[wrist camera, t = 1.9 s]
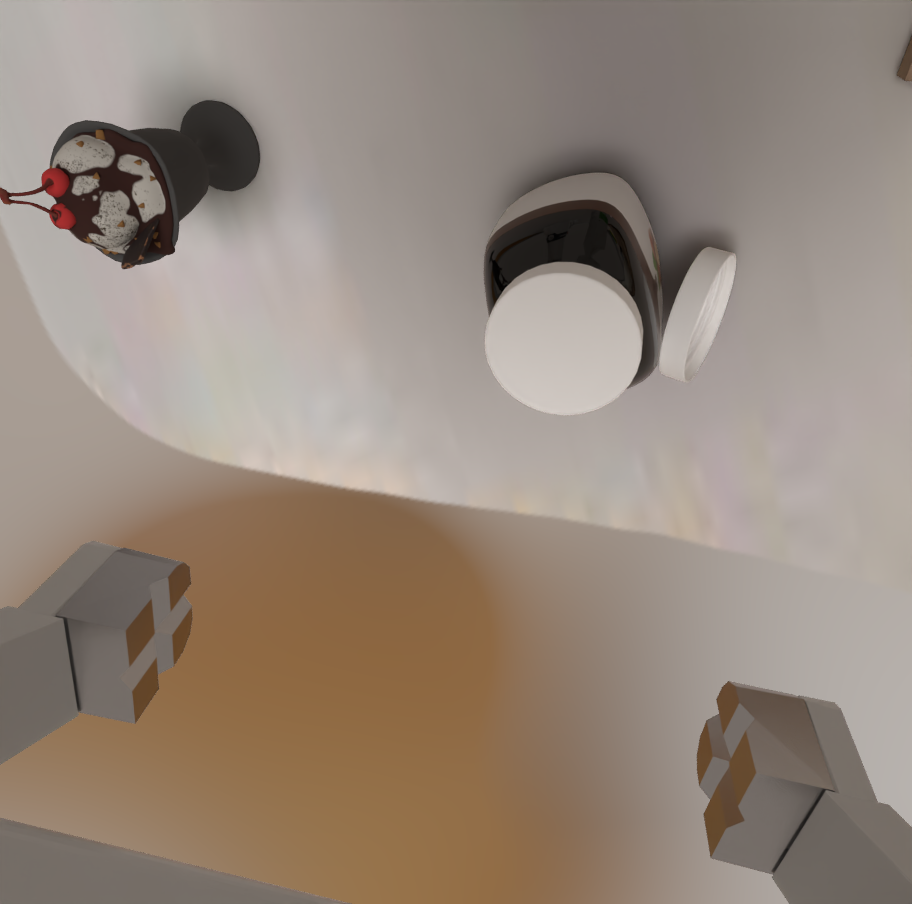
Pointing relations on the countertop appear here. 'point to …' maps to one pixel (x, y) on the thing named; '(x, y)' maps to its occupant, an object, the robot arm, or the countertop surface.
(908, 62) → the wooden cutting board
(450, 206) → the countertop surface
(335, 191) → the countertop surface
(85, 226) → the sundae
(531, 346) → the spread jar
